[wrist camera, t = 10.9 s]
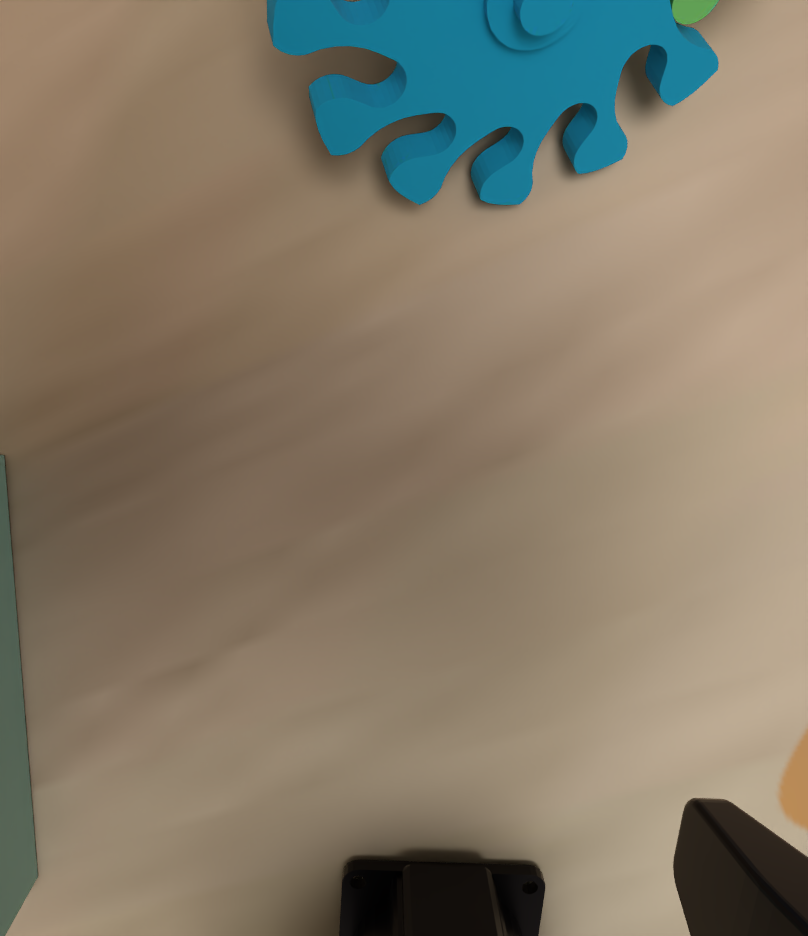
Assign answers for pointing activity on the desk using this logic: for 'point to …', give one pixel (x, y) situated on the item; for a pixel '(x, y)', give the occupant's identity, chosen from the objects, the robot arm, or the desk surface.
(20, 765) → the plate
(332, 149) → the gear
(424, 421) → the desk surface
